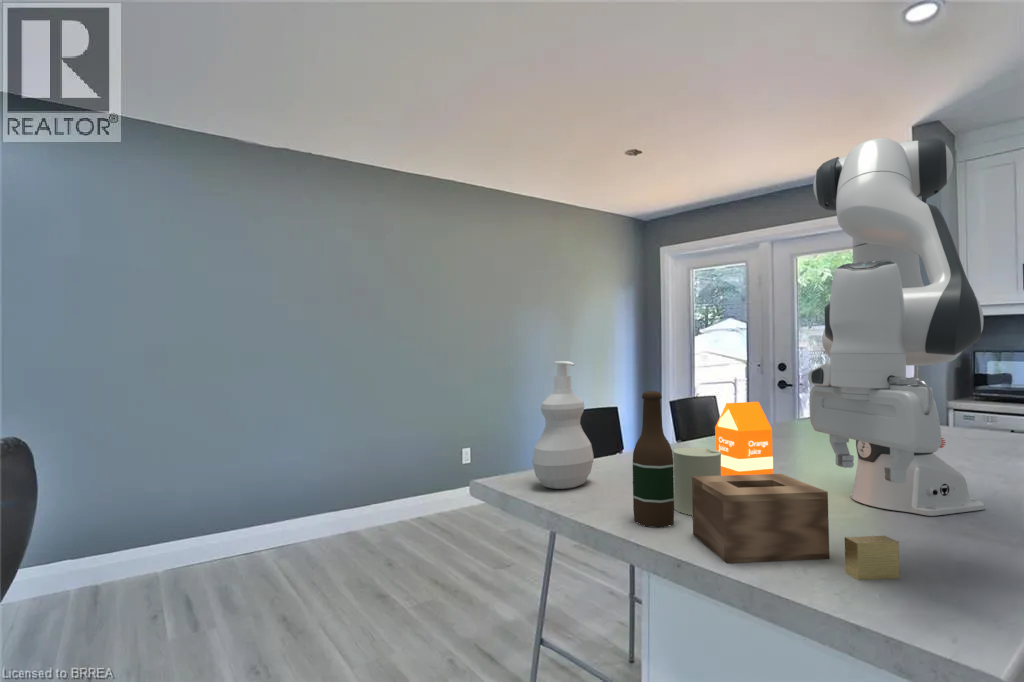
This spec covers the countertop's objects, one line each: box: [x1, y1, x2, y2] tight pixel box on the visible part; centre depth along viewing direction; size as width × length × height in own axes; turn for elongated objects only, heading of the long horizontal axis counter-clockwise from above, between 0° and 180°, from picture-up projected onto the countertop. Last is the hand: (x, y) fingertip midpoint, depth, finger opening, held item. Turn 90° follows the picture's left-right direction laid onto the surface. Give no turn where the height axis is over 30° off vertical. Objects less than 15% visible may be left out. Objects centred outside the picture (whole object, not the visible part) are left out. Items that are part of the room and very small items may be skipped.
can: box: [672, 446, 721, 516], centre depth 105 cm, size 9×9×12 cm
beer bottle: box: [632, 390, 675, 528], centre depth 98 cm, size 8×8×24 cm
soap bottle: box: [532, 360, 595, 490], centre depth 125 cm, size 17×12×29 cm
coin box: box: [692, 473, 830, 564], centre depth 85 cm, size 16×12×10 cm
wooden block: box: [844, 535, 901, 581], centre depth 74 cm, size 6×2×5 cm, turn 94°
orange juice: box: [714, 401, 774, 476], centre depth 116 cm, size 8×9×20 cm
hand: (868, 473), depth 74 cm, fingers open, 8 cm apart
